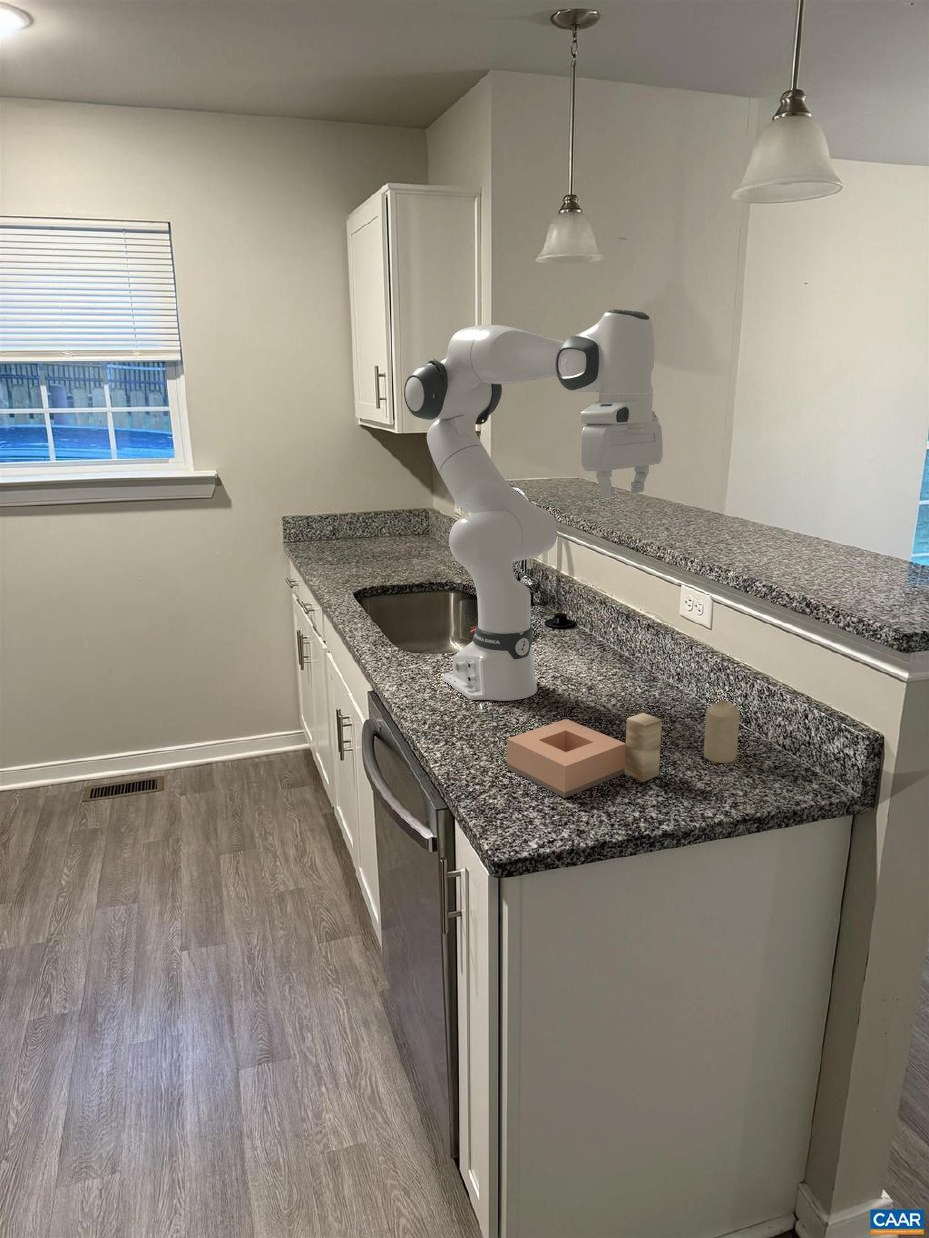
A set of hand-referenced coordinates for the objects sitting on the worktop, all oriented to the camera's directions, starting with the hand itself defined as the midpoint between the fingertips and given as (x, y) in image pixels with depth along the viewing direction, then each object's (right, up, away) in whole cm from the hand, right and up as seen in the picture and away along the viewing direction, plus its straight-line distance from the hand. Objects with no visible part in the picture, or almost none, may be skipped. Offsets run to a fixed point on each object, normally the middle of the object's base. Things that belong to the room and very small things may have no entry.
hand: (622, 494), depth 144 cm
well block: (-10, -47, -1) cm, 48 cm away
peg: (+3, -47, -3) cm, 48 cm away
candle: (+18, -46, +4) cm, 49 cm away
